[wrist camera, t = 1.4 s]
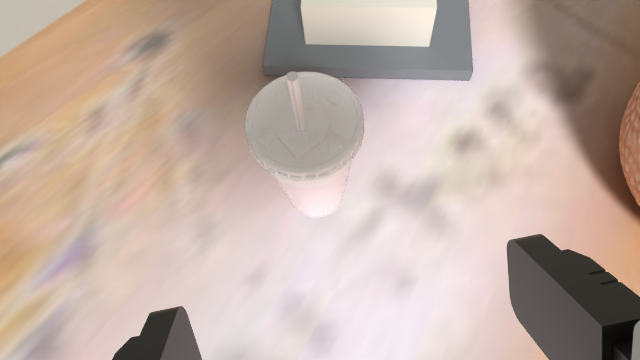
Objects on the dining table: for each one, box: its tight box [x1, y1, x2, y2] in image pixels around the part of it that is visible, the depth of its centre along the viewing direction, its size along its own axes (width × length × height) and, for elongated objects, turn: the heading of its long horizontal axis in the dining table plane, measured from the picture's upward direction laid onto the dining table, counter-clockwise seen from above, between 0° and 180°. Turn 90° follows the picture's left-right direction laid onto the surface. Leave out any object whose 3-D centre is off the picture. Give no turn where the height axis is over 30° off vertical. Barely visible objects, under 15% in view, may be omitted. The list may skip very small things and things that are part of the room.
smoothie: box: [245, 71, 364, 217], centre depth 28 cm, size 6×6×14 cm
